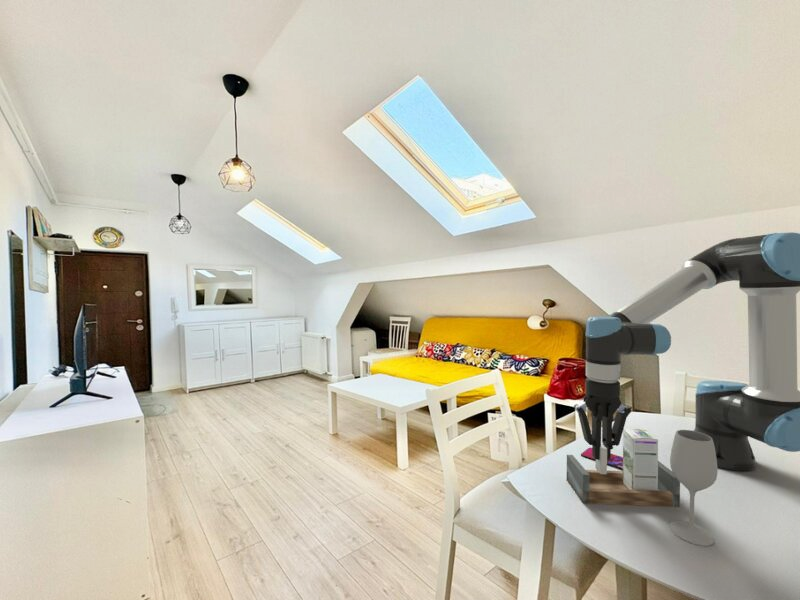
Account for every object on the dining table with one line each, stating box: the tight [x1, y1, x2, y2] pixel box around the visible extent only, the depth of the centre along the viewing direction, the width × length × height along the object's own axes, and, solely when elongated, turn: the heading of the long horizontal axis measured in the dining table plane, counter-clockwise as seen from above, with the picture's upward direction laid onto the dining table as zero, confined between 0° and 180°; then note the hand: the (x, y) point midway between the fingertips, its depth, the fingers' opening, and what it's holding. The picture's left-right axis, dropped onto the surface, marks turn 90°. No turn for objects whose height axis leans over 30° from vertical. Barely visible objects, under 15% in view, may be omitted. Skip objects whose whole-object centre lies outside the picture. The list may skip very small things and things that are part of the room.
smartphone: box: [580, 447, 623, 471], centre depth 106 cm, size 8×1×15 cm
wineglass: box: [669, 429, 719, 547], centre depth 74 cm, size 8×8×21 cm
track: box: [566, 454, 681, 508], centre depth 90 cm, size 22×10×7 cm, turn 86°
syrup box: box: [622, 428, 659, 491], centre depth 88 cm, size 6×6×14 cm
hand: (601, 471), depth 90 cm, fingers closed
